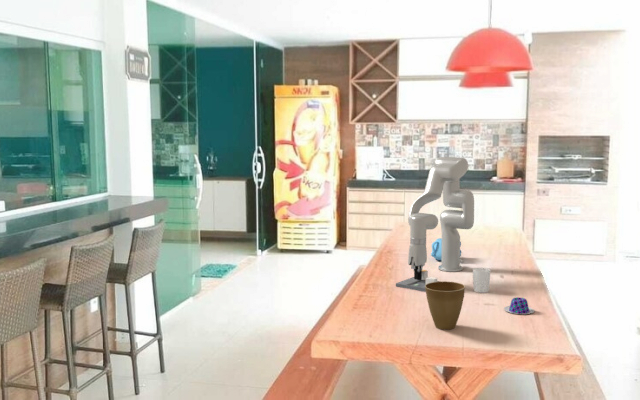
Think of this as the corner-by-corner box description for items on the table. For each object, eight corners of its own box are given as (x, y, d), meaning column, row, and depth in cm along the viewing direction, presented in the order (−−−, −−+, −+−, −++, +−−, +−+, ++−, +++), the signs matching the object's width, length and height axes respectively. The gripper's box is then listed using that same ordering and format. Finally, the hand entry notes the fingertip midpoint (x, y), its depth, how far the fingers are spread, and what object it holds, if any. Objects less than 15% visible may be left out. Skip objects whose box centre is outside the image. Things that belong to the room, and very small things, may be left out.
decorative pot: (464, 258, 360) (465, 235, 359) (455, 264, 346) (456, 239, 345) (437, 256, 368) (437, 233, 367) (427, 261, 355) (427, 237, 353)
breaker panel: (413, 279, 313) (413, 276, 313) (457, 287, 298) (457, 283, 298) (395, 286, 301) (395, 282, 301) (440, 294, 286) (440, 291, 286)
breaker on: (428, 285, 295) (428, 276, 294) (437, 286, 292) (437, 278, 291) (425, 286, 292) (425, 278, 292) (433, 288, 289) (434, 279, 289)
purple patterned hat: (513, 305, 269) (513, 293, 268) (539, 311, 260) (540, 298, 259) (498, 311, 261) (498, 299, 260) (525, 317, 252) (525, 304, 251)
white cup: (477, 293, 287) (478, 272, 285) (469, 289, 294) (469, 268, 293) (493, 292, 289) (493, 270, 287) (484, 288, 296) (484, 267, 295)
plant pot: (458, 320, 249) (459, 280, 247) (469, 332, 234) (469, 290, 232) (421, 321, 248) (421, 281, 246) (429, 333, 234) (429, 291, 232)
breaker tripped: (419, 277, 309) (419, 269, 309) (427, 278, 306) (427, 270, 306) (416, 278, 307) (416, 270, 306) (424, 280, 304) (424, 271, 304)
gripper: (419, 238, 310) (419, 275, 312) (403, 242, 298) (402, 281, 300) (433, 240, 305) (432, 277, 307) (416, 244, 293) (416, 283, 296)
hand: (417, 279), depth 304 cm, fingers closed
